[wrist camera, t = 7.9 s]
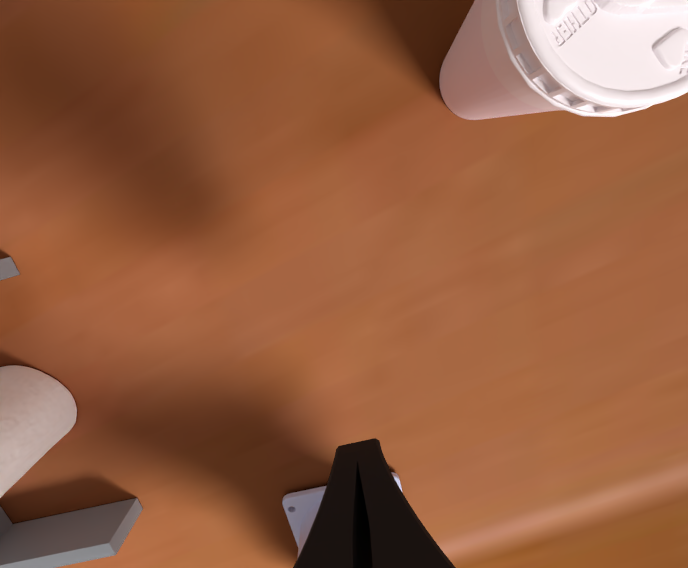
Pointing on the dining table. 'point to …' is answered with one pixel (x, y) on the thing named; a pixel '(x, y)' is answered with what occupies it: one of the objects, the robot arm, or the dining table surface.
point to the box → (64, 524)
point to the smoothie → (566, 57)
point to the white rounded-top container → (30, 419)
